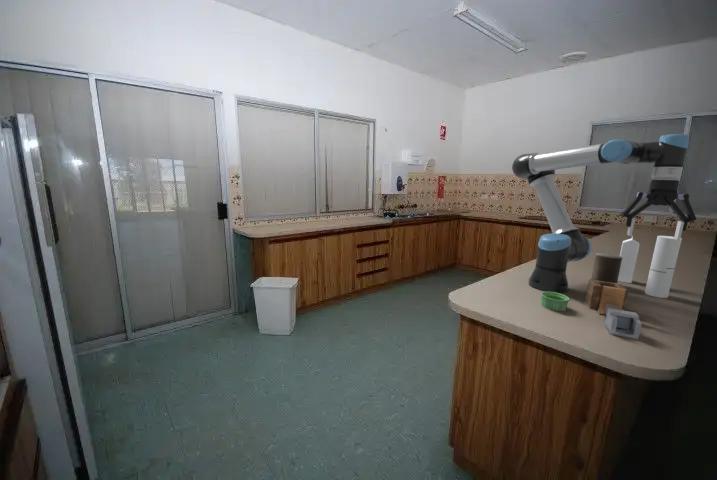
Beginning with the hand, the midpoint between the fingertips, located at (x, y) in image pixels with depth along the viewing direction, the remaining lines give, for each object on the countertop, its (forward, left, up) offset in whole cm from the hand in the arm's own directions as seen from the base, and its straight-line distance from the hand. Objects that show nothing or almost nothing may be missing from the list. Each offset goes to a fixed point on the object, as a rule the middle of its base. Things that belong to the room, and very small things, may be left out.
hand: (652, 237), depth 115 cm
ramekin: (-30, -20, -27) cm, 45 cm away
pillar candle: (-6, +24, -27) cm, 37 cm away
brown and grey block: (-13, -23, -27) cm, 37 cm away
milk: (+4, +35, -27) cm, 44 cm away
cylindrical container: (+11, +18, -27) cm, 34 cm away
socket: (-13, -11, -27) cm, 32 cm away
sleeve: (-13, -33, -27) cm, 44 cm away
